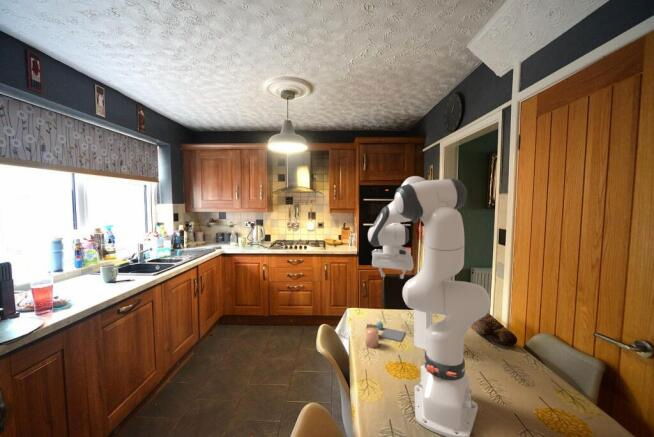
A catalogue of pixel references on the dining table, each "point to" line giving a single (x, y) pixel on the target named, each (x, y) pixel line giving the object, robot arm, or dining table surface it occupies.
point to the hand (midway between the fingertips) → (392, 277)
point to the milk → (421, 328)
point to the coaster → (393, 334)
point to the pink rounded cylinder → (372, 337)
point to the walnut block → (371, 326)
